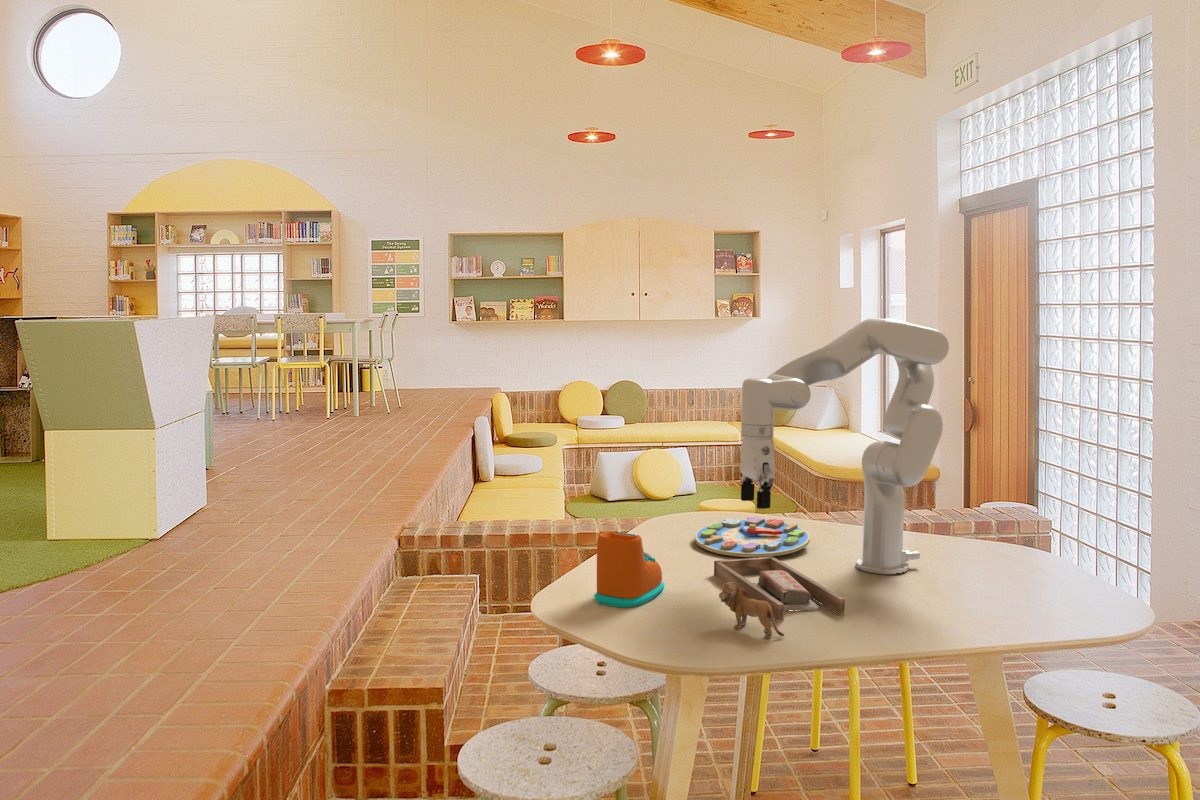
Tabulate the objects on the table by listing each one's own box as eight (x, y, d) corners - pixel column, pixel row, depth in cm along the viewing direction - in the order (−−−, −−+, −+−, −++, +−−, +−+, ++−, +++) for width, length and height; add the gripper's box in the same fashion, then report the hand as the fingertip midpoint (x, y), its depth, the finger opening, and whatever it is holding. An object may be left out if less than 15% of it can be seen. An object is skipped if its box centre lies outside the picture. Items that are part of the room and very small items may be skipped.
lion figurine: (714, 625, 203) (715, 582, 202) (728, 619, 207) (729, 577, 206) (777, 642, 194) (778, 597, 193) (791, 635, 198) (792, 591, 197)
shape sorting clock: (672, 547, 266) (672, 525, 266) (734, 527, 289) (734, 507, 289) (771, 568, 247) (772, 545, 246) (829, 545, 270) (830, 523, 269)
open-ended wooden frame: (772, 570, 244) (772, 556, 243) (844, 615, 210) (845, 598, 210) (714, 575, 239) (714, 560, 239) (778, 621, 206) (778, 604, 206)
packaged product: (750, 569, 229) (792, 567, 231) (750, 589, 230) (791, 587, 231) (775, 592, 211) (820, 590, 213) (774, 614, 212) (819, 612, 213)
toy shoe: (673, 588, 229) (674, 524, 227) (634, 612, 212) (635, 543, 210) (627, 580, 235) (627, 518, 233) (585, 603, 218) (585, 536, 216)
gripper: (788, 435, 225) (786, 511, 227) (756, 425, 241) (754, 496, 243) (758, 436, 223) (756, 513, 224) (727, 426, 239) (726, 497, 241)
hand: (755, 504), depth 234 cm, fingers open, 8 cm apart
